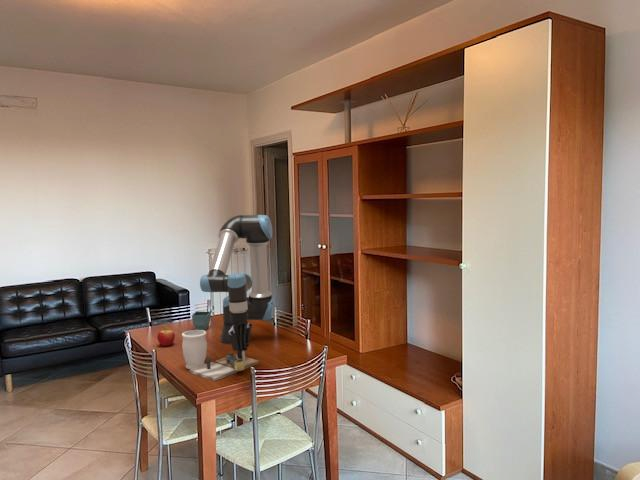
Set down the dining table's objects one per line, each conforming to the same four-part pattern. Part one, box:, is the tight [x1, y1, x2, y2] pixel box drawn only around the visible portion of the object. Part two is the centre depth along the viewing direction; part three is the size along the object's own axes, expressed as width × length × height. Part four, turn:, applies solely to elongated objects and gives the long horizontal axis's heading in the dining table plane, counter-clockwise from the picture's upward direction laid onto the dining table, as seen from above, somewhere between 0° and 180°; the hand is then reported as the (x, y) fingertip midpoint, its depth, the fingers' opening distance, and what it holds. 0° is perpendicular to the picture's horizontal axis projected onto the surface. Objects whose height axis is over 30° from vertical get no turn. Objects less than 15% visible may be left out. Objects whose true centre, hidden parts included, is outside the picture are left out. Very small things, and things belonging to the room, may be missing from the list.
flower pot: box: [191, 311, 212, 331], centre depth 270 cm, size 9×9×9 cm
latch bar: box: [225, 353, 245, 372], centre depth 205 cm, size 16×4×4 cm, turn 27°
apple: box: [156, 326, 176, 347], centre depth 240 cm, size 8×8×10 cm
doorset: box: [189, 353, 260, 382], centre depth 207 cm, size 16×25×6 cm, turn 142°
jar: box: [181, 329, 208, 370], centre depth 210 cm, size 11×10×15 cm
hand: (242, 365), depth 203 cm, fingers closed
